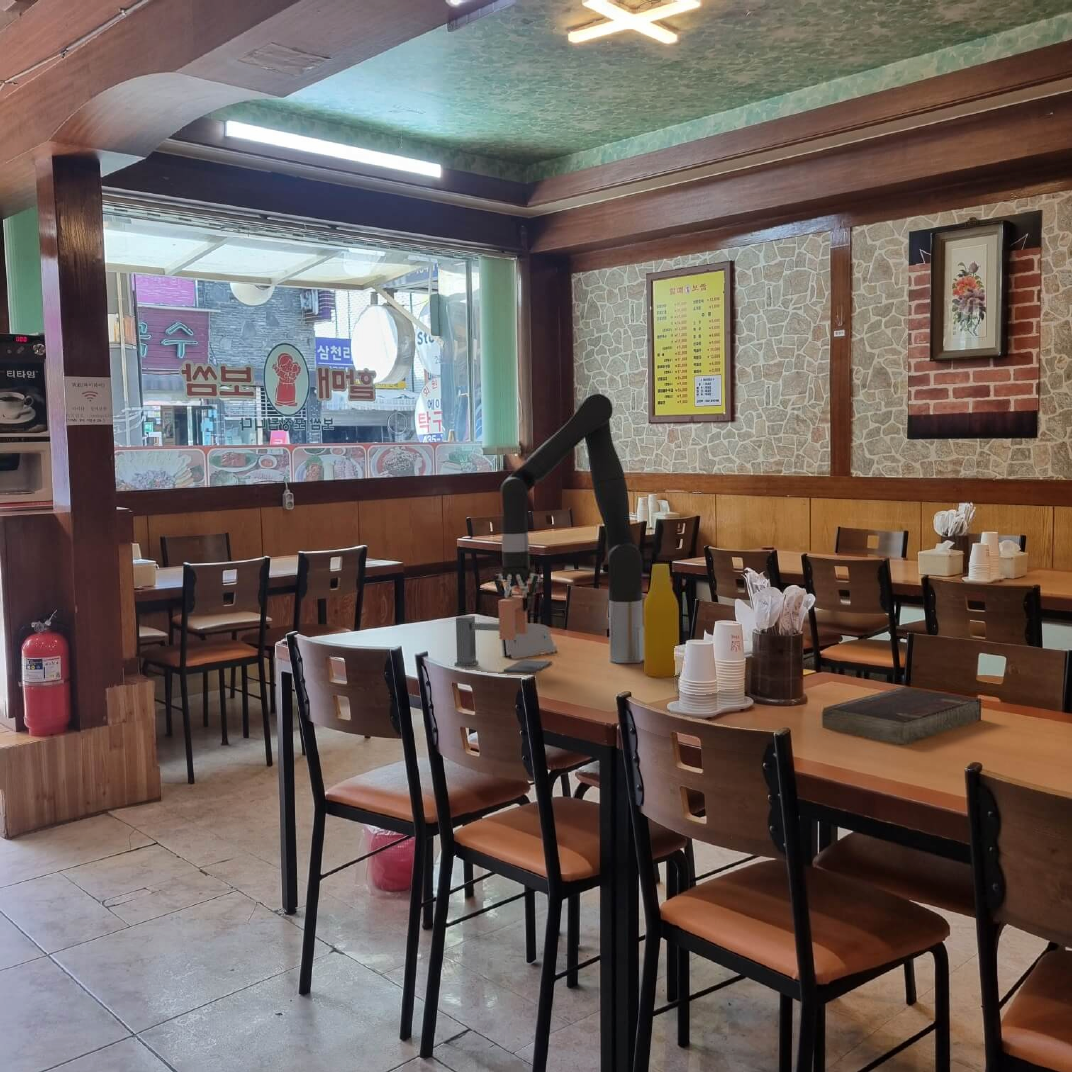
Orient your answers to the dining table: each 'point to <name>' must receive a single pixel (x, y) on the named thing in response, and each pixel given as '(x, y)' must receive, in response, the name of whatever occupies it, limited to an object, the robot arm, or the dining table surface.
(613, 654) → the robot arm
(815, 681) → the dining table surface
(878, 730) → the hardback book
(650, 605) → the beer bottle
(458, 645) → the bracket
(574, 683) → the dining table surface
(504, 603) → the pink block
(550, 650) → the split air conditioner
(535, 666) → the mat
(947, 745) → the dining table surface
